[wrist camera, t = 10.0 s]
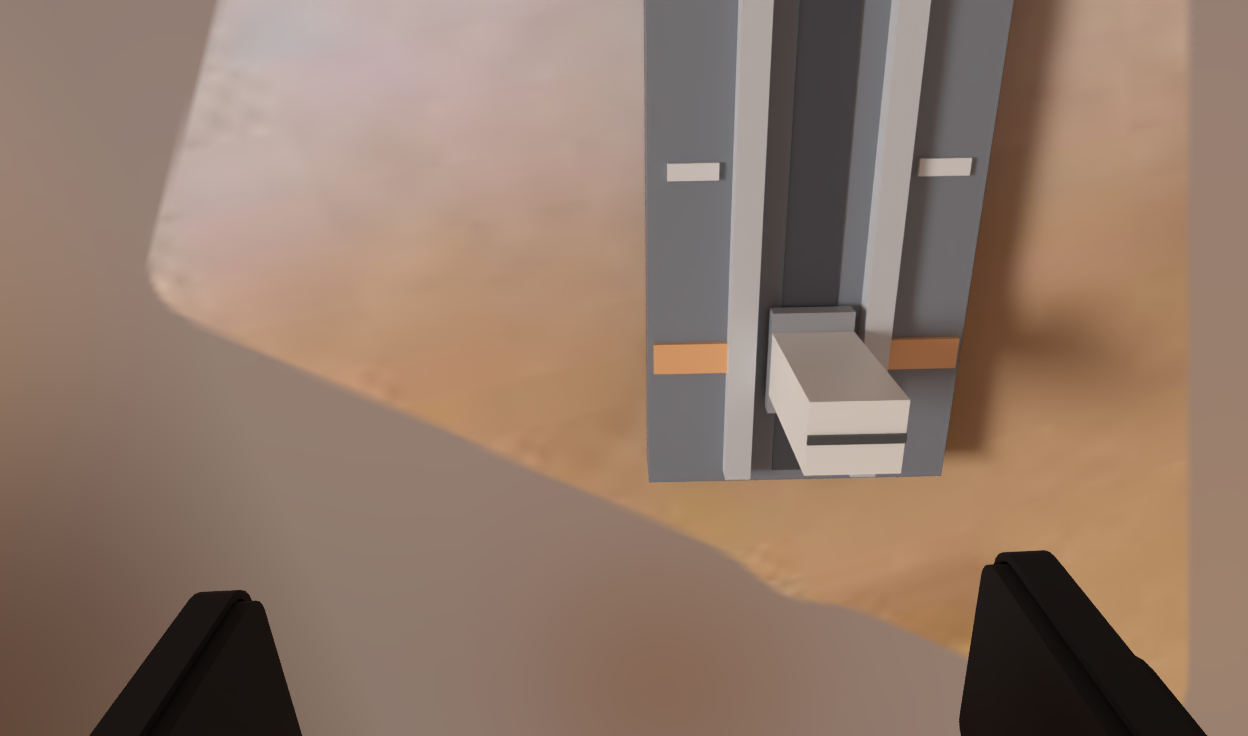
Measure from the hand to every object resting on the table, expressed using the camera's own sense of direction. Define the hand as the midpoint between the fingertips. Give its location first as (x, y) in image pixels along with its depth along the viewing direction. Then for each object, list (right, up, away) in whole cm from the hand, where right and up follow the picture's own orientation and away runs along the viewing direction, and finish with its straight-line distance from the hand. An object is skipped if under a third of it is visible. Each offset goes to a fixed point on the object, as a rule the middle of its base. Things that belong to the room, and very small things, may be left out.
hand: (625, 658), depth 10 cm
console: (+7, +11, +20) cm, 24 cm away
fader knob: (+7, +4, +20) cm, 22 cm away
